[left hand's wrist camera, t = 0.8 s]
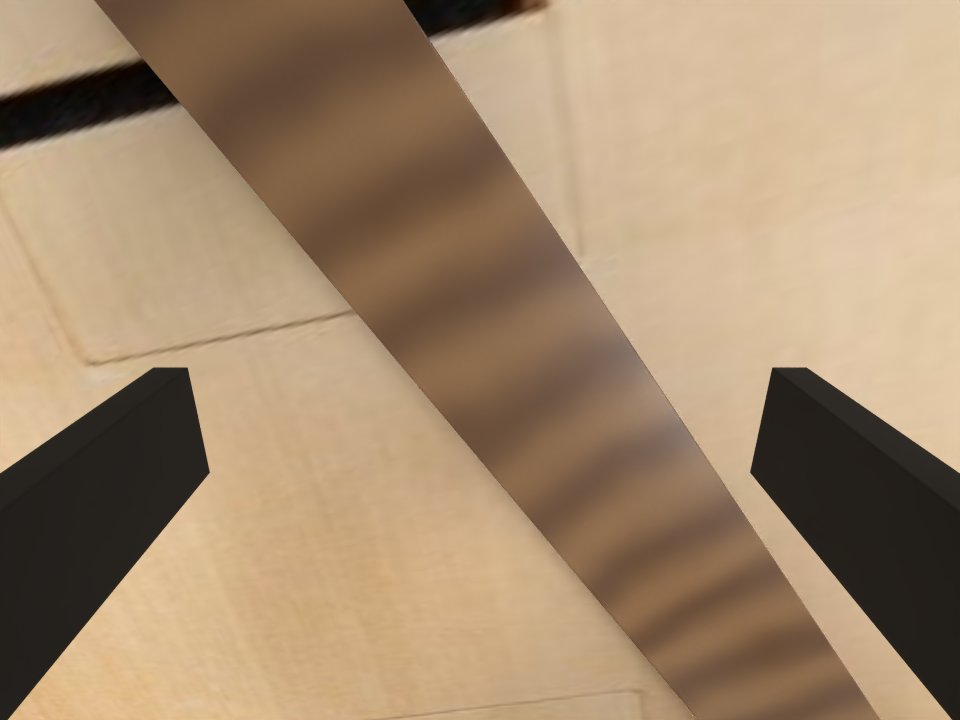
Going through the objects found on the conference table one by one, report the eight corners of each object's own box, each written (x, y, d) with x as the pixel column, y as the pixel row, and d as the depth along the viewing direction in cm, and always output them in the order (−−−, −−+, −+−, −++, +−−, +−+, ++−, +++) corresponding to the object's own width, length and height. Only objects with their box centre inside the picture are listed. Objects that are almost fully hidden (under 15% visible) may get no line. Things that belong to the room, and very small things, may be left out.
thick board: (120, -45, 27) (4, -105, 21) (266, -199, 25) (190, -321, 18) (802, 803, 52) (850, 901, 45) (906, 762, 49) (972, 858, 43)
